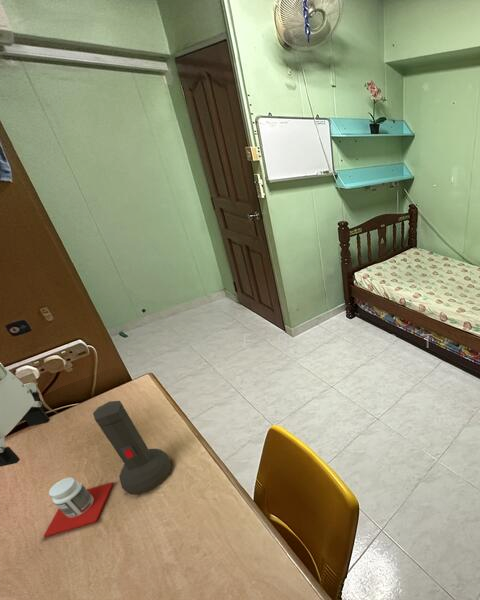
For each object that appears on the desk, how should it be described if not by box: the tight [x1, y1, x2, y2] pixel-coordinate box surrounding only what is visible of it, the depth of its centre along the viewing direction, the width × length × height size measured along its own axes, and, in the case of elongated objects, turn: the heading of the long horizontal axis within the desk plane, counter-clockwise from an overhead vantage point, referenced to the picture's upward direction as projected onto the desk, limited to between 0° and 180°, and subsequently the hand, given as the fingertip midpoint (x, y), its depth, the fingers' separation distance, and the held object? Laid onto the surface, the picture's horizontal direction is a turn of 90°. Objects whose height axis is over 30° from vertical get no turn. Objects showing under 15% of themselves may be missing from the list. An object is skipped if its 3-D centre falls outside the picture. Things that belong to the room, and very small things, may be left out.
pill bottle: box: [48, 477, 94, 518], centre depth 69 cm, size 5×5×8 cm
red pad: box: [43, 482, 114, 538], centre depth 71 cm, size 9×9×1 cm
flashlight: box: [92, 400, 172, 495], centre depth 72 cm, size 10×25×10 cm
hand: (25, 442), depth 63 cm, fingers open, 9 cm apart
